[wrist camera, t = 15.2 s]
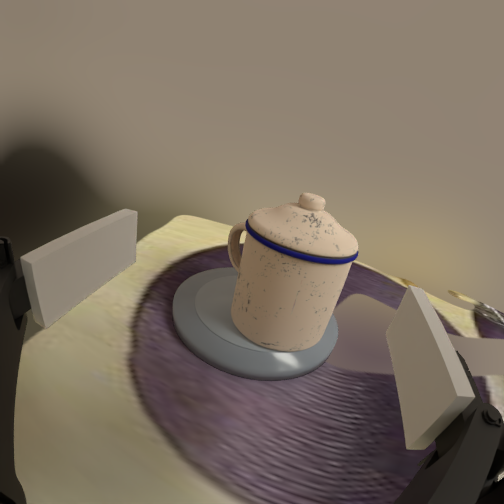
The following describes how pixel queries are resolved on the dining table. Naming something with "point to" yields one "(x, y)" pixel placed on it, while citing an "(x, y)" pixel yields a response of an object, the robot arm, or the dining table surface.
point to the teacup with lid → (289, 273)
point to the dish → (236, 332)
